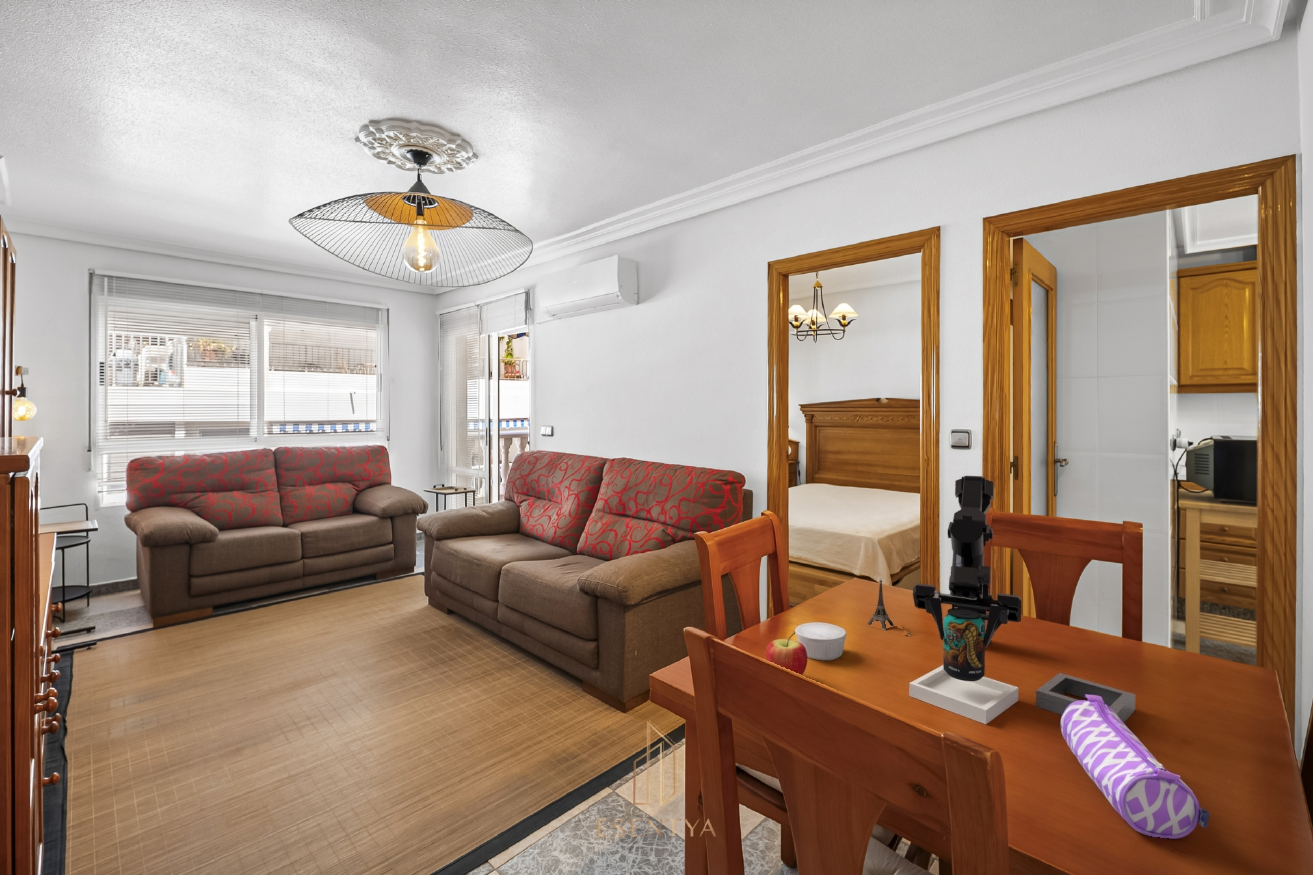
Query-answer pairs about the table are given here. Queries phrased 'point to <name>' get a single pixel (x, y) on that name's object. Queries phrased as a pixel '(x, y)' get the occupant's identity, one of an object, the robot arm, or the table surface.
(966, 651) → the beverage can
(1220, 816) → the table surface
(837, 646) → the ramekin
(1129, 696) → the collar
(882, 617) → the eiffel tower figurine
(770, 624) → the table surface
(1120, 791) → the pencil case
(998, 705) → the tray
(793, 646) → the apple
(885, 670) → the table surface
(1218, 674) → the table surface
